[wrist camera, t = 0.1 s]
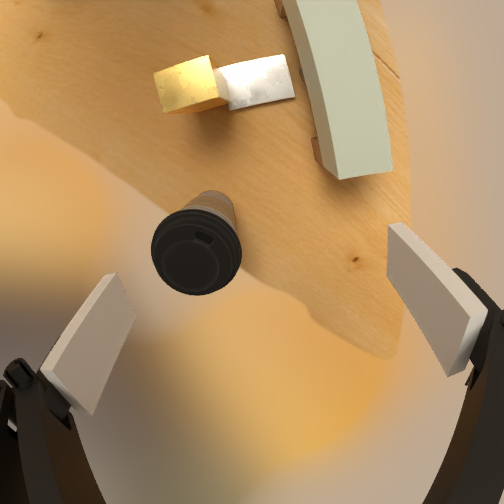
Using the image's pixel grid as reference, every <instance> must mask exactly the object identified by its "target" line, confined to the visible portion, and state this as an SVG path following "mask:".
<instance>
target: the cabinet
mask: <svg viewBox="0 0 504 504" xmlns="http://www.w3.org/2000/svg"><path fill="white" fill-rule="evenodd" d="M274 1H275V4H276V7H277V10H278V13H279V16H280V17H283V16H287V18H288V22H289V25H290V28H291V31H292V35H293V38H294V42H295V45H296V48H297V52H298V56H299V59H300V63H301V67H302V71H303V75H304V78H305V82H306V86H307V91H308V95H309V99H310V103H311V108H312V112H313V117H314V121H315V126H316V131H317V136H318V138H312V139H311V141H312V146H313V151H314V156H315V160H316V161H317V162H318V163H320V164H321V165H322V166H323V167H324V168H326V169H327V170H328V171H329V172H330V173H332V174H333V175H334V176H335V177H336V178H337V179H339V180H341V179H346V178H352V177H358V176H364V175H370V174H376V173H382V172H388V171H393V164H392V154H391V146H390V139H389V131H388V125H387V119H386V113H385V107H384V101H383V96H382V91H381V86H380V82H379V77H378V73H377V69H376V64H375V60H374V56H373V53H372V49H371V45H370V42H369V38H368V35H367V31H366V28H365V25H364V22H363V19H362V16H361V13H360V10H359V7H358V4H357V1H356V0H274Z"/></svg>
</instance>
